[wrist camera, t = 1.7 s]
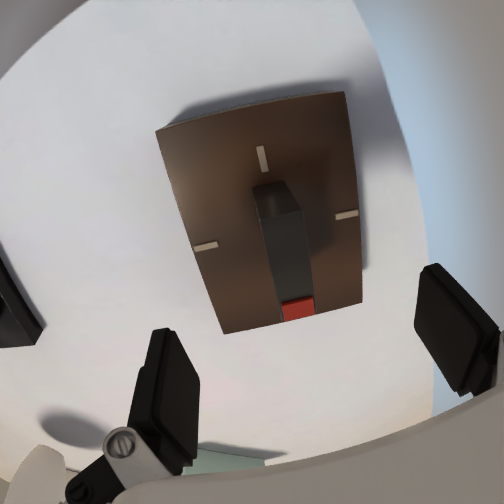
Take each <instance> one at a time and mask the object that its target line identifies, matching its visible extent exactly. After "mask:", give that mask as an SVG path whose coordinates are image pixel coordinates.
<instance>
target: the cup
mask: <svg viewBox="0 0 504 504" xmlns="http://www.w3.org/2000/svg"><path fill="white" fill-rule="evenodd" d="M67 484H68V482H67V474H66V466H65V461H64V456H63V455H62V454H61V453H59V452H58V451H56V450H55V449H53V448H50V447H48V446H45V445H41V444H40V445H38V446H37V447H35V448H34V449H33V450H32V451H31V452H30V454H29V455H28V456H27V457H26V458H25V460H24V461H23V462H22V463H21V465H20V467H19V469H18V470H17V472H16V474H15V475H14V477H13V479H12V481H11V483H10V486H9V489H8V492H7V495H6V498H5V502H4V504H59V503H60V501H62V502H65V500H66V498H65V488H66V486H67Z"/></svg>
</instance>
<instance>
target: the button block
mask: <svg viewBox="0 0 504 504" xmlns="http://www.w3.org/2000/svg"><path fill="white" fill-rule="evenodd" d="M42 331H43V329H42V327H41V326H40V325H39V323H38V321H37V320H36V318H35V317H34V315H33V314H32V312H31V311H30V309H29V307H28V306H27V304H26V303H25V301H24V299H23V298H22V296H21V294H20V293H19V291H18V289H17V287H16V286H15V284H14V282H13V280H12V279H11V277H10V275H9V273H8V271H7V269H6V268H5V266H4V264H3V262H2V260H1V258H0V348H10V347H21V346H31V345H35V344H36V342H37V340H38V338H39V337H40V335H41V333H42Z"/></svg>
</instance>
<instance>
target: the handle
mask: <svg viewBox="0 0 504 504" xmlns="http://www.w3.org/2000/svg"><path fill="white" fill-rule="evenodd" d="M252 193H253V197H254V202H255V206H256V210H257V215H258V219H259V224H260V228H261V232H262V237H263V241H264V246H265V250H266V254H267V259H268V263H269V268H270V272H271V277H272V281H273V285H274V290H275V294H276V299H277V303H278V308H279V312H280V317H281V320H282V321H289V320H294V319H298V318H302V317H306V316H311V315H315V314H316V313H317V308H316V300H315V292H314V284H313V276H312V269H311V261H310V254H309V247H308V240H307V234H306V227H305V221H304V214H303V211H302V209H301V207H300V206H299V204H298V202H297V201H296V199H295V198H294V196H293V194H292V193H291V191H290V189H289V188H288V186H287V185H286V183H285V181H280V182H276V183H271V184H267V185H262V186H258V187H253V188H252Z"/></svg>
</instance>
